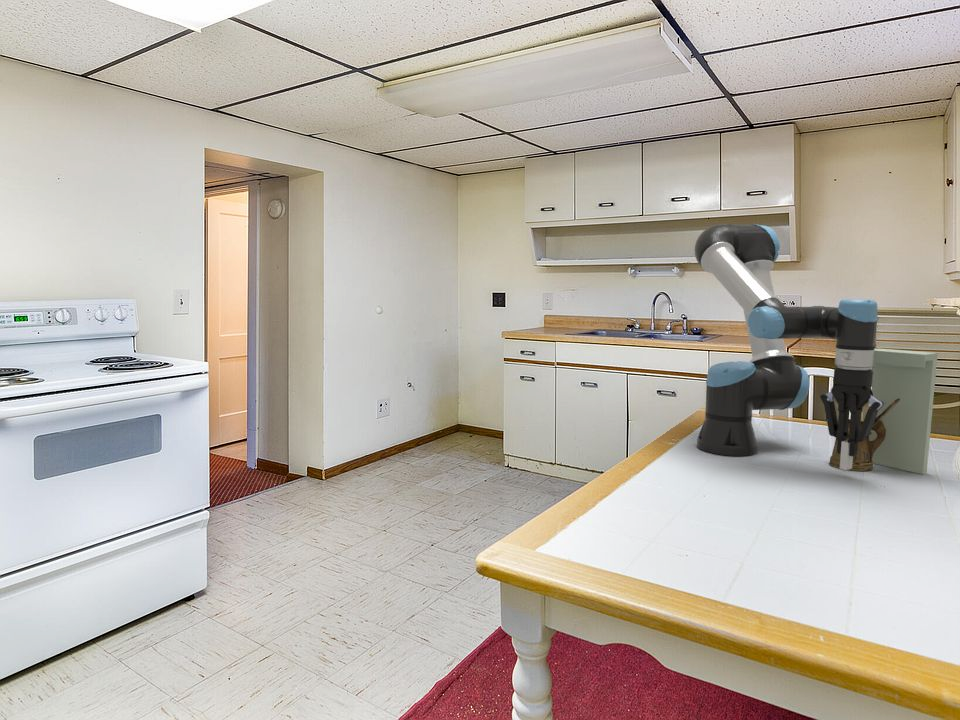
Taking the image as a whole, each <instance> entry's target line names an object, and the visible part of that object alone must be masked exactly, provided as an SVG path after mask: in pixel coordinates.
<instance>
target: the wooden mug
mask: <svg viewBox="0 0 960 720" xmlns="http://www.w3.org/2000/svg"><path fill="white" fill-rule="evenodd" d="M899 401H900V398H898V399H896V400H894V401H893V402H892V403H891V404H890V405H889V406H888V407H887V408H886V409H885V410H884V411H883V412H882V413H881V414H879V415H878V416H877V417H876V418H875V421H874V424H873V427H872V429H871V430H874V431H875V432H876V433H877V438H876V439H875V440H873V441H869V438H868V440H865V441H862V442H859V443H858V452H857V455H856V456H854V457H853V462H852V469H849V470H848V471H851V472H868V471H871V470H872V469H873V468H874V463H873V462H872V457H873V453H874V452H875V451H876V449H877V448H878V447H879V446H880V445H881V444H882V442H883V441H884V440H885V437H886V428H885V425H884V424H883V422H882V420H881V419H882V418H883V417H884V416H885V415H886V414H887V413H888V412H889V411H890V410H891V409H892V408H893V407H894V406H895V405H896V404H897V403H898V402H899ZM863 421H864V420H861V426H860V430H861V427H862V424H863ZM849 430H850V418H849V424H848V437H849ZM871 434H872V433H871V432H870V435H871ZM846 440H849V438H847V439H846ZM837 443H838V440H837V438H835V441H834V445H833V449H832V455H831V456H830V457H829V462H828V463H829V465H830V466H832V467H834V468H837V469H840V456H841V454H839V453H837Z"/></svg>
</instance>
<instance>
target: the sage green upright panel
mask: <svg viewBox="0 0 960 720" xmlns="http://www.w3.org/2000/svg"><path fill="white" fill-rule="evenodd" d="M938 356H939V355H938V352H928V351H916V350H915V351H914V350H902V349H892V348H891V349H888V348H875V349H874V366H873V367H872V368H873V369H872V371H873V376H872V386H871V390H872V392H873V397H874V398H876V399H877V400H878V401H883V402H884V405H883V406H882V407H881V409H880V410H879V411H878V413H877V416H878V415H879V414H881V413H882V412H883V411H884V410H885V409H886V408H887V407H888V406H889V405H890V404H891V403H892V402H893V401H894V400H896V399H898V398H900V401H899V402H898V403H897V404H896V405H895V406H894V407H893V408H892V409H891V410H890V411H889V412H888V413H887V414H886V415H885V416H884V417H883V418H882V419H881V420H882V422H883V424H884V425H885V428H886V437H885V440H884V441H883V442H882V444H881V445H880V446H879V447H878V448H877V449H876V451H875V452H874V453H873V457H872V462H873V465H874V464H875V465H880V466H885V467H889V468H892V469H896V470H897V469H898V470H902V471H907V472H910V473H916V474H920V475H924V474H927V471H928V462H929V452H930V451H929V450H930V439H931V430H932V420H933V419H932V418H933V409H934V408H933V407H934V395H935V386H936V374H937V366H938V365H937V364H938ZM877 416H876V417H877ZM871 433H872V434H871V435H869V441H873V440H875V439H876V438H877V433H876V432H875V431H874V430H871Z"/></svg>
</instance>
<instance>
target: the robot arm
mask: <svg viewBox="0 0 960 720" xmlns="http://www.w3.org/2000/svg"><path fill="white" fill-rule="evenodd" d="M780 248H781V246H780V240H779V236H778V234H777V233H776V232H775V230H774V229H773V228H771V227H769V226H768V225H760V224H756V223H752V224H730V223H729V224H727V223H720V224H719V223H718V224H714V225H711V226H709V227H707V228H706V229H704V230H703V231H702V232H701V233H700V234H699V235H698V238H697V239H696V241H695V245H694V257H695V259H696V261H697V263H698V265H699V266H700V267H701V268H702V269H703V271H705V272H706V273H709V274H712V275H713V276H714V277H715V278H716V280H717V281H718V282H719V283H720V284H721V285H722V287H723V288H724V289H725V290H726V291H727V292H728V294H729V295H730V296H731V297H732V298H733V299H734V300H735V302H736V303H737V304H738V305H739V306H740V307H741V308H742V309H743V315H744V320H745V325H746V330H747V336H748V341H749V345H750V351H751V356H752V357H751V359H750V360H749V361H741V360H740V361H739V360H738V361H725V362H719V363H716V364H715V363H714V364H713V365H711V366H709V369H708V370H707V375H706V380H705V385H706V391H705V393H706V394H705V395H706V396H705V415H704V421H703V424H702V426H701V429H700V430H699V431H700V432H699V433H698V436H697V439H696V440H697V441H696V447H697V448H698V449H699V450H701V451H704V452H707V453H710V454H715V455H722V456H732V457H734V456H735V457H746V456H752V455H755V454H757V453H758V445H759V444H758V441H757V437H756V433H755V430H754V426H753V423H752V422H753V421H752V420H753V411H762V410H763V411H766V410H770V411H771V410H780V411H783V410H789V409H795V408H798V407H799V406H801V405H802V404H803V403H804V402H805V400H806V398H807V396H808V394H809V391H810V390H809V389H810V378H809V375H808V372H807V370H805V369H804V368H803V367H802V366H800V365H796V362H795V357H794V355H792V354H790V353H789V352H788V351H787V347H786V344H785V340H784V339H828V340H829V339H832V340H836V344H835V356H834V365H835V366H836V367H835V368H834V369H833V382H832V383H833V385H832V387H831V389H830V391H829V392H827V393H824V394H821V395H819V398H820V400H821V402H822V404H823V407H824V411H825V417H826V422H827V429H828V430H827V431H828V434H829V436H831V437H834V438H835V439H836V438H837V440H838V443H837V453H839V454H841V456H840V468H839V470H843V471H850V470H849V469H852V462H853V457H854V456H856V455H857V452H858V443H859V442H862V441H865V440H868V438H869V435H870V432H871V429H872V427H873V424H874V421H875V418H876V416H877V413H878V411H879V410H880V409H881V407H882V406H883V405H884V402H883V401H878V400H877V399H876V398H874V397H873V392H872V380H873V369H871V368H873V367H874V349H876V348H875V347H876V339H877V338H876V336H877V335H876V334H877V326H878V325H877V324H878V319H879V316H878V302H877V301H876V300H874V299H860V298H859V299H856V298H854V299H853V298H850V299H849V298H848V299H847V298H845V299H844V298H843V299H841V300H840V301H839V302H838V303H839V304H838V307H835V306H834V307H833V306H824V305H812V306H786V305H785V304H784V303H783V302H782V301H781V300H780V299H779V298H778V297H777V296H776V295H775V290H774V287H773V282H772V277H771V273H770V272H771V271H772V270H773V268H774V267H775V262H776V261H777V259H778V258H779V255H780V253H779V251H780ZM834 401H836V403H837V405H838V406H837V410H836V405H835V402H834ZM868 402H869V403H868ZM867 404H868V407H869V408H868V409H867V412H866V413H865V415H864V419H863V420H862V413H863V409H864V407H865V406H866V405H867ZM837 411H838V415H837ZM849 419H850V430H849V437H848V424H849ZM861 421H863V424H862V427H861V430H860V426H861ZM847 438H849V440H846V439H847Z"/></svg>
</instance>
